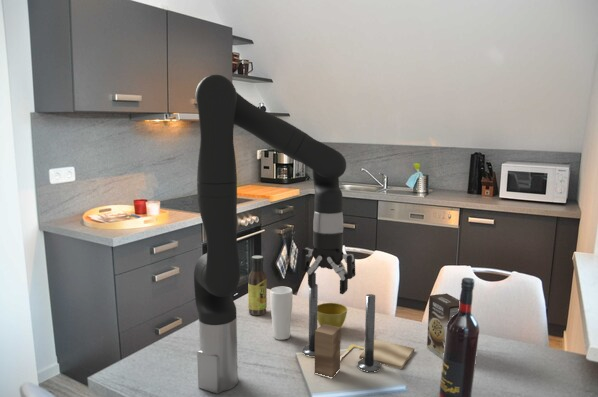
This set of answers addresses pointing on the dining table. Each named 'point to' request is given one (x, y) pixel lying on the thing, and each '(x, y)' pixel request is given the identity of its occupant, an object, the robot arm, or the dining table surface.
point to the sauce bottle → (257, 287)
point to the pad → (390, 353)
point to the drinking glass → (281, 311)
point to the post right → (369, 337)
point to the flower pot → (331, 314)
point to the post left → (312, 321)
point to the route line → (355, 347)
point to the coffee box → (440, 320)
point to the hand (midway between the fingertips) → (327, 290)
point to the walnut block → (327, 350)
